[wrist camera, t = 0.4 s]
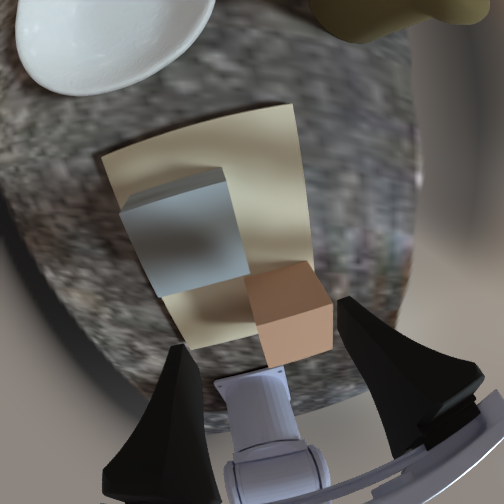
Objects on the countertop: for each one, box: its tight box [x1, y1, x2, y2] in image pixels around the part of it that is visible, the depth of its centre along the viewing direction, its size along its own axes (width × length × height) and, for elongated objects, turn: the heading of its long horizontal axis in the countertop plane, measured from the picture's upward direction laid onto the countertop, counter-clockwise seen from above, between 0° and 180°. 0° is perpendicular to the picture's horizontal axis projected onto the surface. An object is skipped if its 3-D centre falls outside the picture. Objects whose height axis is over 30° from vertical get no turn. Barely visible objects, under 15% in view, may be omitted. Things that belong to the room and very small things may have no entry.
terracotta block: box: [244, 261, 333, 368], centre depth 20 cm, size 5×5×5 cm
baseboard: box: [101, 103, 314, 350], centre depth 19 cm, size 18×12×4 cm, turn 12°
